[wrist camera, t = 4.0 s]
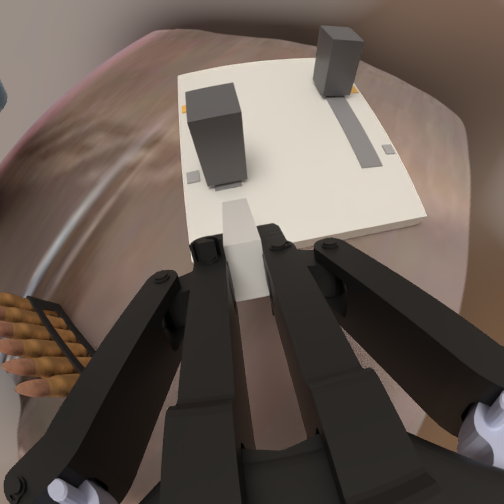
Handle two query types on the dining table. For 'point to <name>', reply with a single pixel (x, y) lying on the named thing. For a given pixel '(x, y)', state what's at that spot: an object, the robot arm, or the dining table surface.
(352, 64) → the block
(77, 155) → the dining table surface
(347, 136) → the switch panel
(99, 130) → the dining table surface
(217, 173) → the block
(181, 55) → the dining table surface
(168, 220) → the dining table surface
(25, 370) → the ammunition clip
